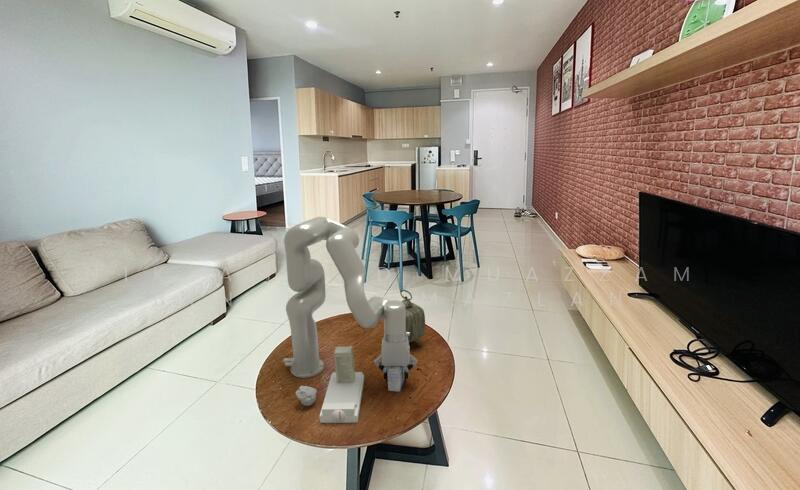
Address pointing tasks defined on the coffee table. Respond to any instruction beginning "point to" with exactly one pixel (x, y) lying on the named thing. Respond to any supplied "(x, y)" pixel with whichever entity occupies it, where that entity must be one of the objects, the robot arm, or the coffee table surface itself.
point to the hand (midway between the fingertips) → (396, 379)
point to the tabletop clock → (414, 319)
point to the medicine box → (395, 378)
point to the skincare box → (344, 364)
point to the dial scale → (342, 400)
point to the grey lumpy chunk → (306, 395)
